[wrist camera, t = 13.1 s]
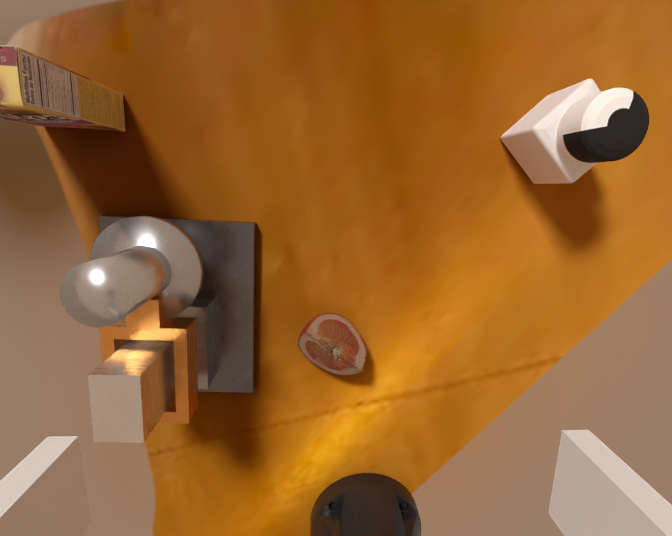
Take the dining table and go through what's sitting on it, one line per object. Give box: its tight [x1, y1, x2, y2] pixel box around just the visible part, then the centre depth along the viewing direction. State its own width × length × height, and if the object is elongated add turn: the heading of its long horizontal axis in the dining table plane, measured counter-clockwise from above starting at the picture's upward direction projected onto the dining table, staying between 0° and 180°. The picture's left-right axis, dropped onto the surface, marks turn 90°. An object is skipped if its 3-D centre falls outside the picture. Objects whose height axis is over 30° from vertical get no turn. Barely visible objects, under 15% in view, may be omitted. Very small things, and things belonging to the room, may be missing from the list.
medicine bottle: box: [501, 79, 649, 184], centre depth 38 cm, size 7×7×12 cm
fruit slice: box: [298, 313, 367, 375], centre depth 45 cm, size 8×7×5 cm
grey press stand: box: [60, 215, 256, 423], centre depth 37 cm, size 22×17×18 cm
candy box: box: [0, 46, 126, 132], centre depth 34 cm, size 9×4×15 cm, turn 87°
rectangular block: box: [88, 340, 175, 443], centre depth 38 cm, size 6×4×15 cm, turn 177°
